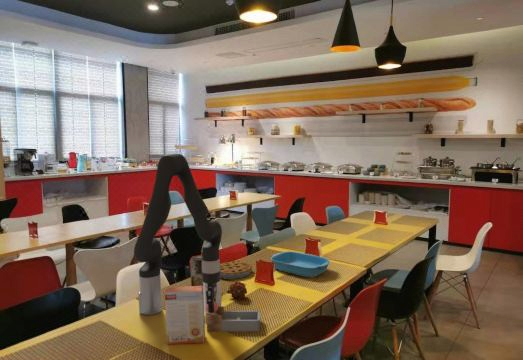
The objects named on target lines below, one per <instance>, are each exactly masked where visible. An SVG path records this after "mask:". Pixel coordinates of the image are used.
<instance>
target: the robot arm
mask: <svg viewBox="0 0 523 360" xmlns="http://www.w3.org/2000/svg"><path fill="white" fill-rule="evenodd" d="M174 177H177V178H178V179H179V181H180V182H181V185H182V188H183V196H184V202H185V205H186V208H187V209H188V211H189V213H190V215H191V216H192V219H193V223H194V227H195V230H196V234H197V235H198V237H199V238H200V239H201V240H203V241H205V244H204V245H203V246H202V248H201V256H202V281H203V282H204V283H207V286H206V298H207V304H208V312H209V313H213V312H214V301H215V302H216V298H215V297H216V294H217V282H219V281H220V280H221V279H222V278H221V277H220V263H221V262H220V246H221V241H222V235H223V229H222V226H221V224H220V222H218V221H217V220H209V221H208V215H209V214H210V211H209V209H208V206H207V205H206V203H205V201H204V200H203V197H202V195H201V193H200V192H199V189H198V187H197V184H196V181H195V179H194V176H193V174H192V171H191V168H190V166H189V162H188V161H187V158H186V157H185V155H184V154H181V153H168V154H164V155H162V156H161V157H160V159H159V160H158V163H157V168H156V174H155V179H154V184H153V188H152V191H151V196H150V199H149V203H148V207H147V209H146V213H145V218H144V221H143V223H142V227H141V229H140V233H139V235H138V237H137V240H136V242H135V245H134V247H133V248H134V249H133V255H134V259H135V260H136V261H137V262H139V263H144V264H143V265H142V266H141V267H140V268H139V270H138V278H139V280H138V281H139V292H138V311H139V314H140V315H146V316H152V315H153V316H154V315H157V314H158V313H161V311H162V310H163V308H162V307H163V306H162V305H163V303H162V284H161V283H162V282H161V280H162V279H161V278H162V277H161V269H162V264H163V262H162V260H163V250H162V249H163V248H162V245H161V242H160V241H159V239H157V238H155V237H156V235H157V233H158V232H159V231H160V229H161V228H162V227H163V226H164V225H165V223H166V222H167V219H168V218H169V216H170V215H169V214H170V210H171V208H172V199H171V195H170V187H171V186H170V185H171V183H172V180H173V178H174ZM209 300H210V301H209Z"/></svg>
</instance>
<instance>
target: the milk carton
mask: <svg viewBox="0 0 523 360" xmlns="http://www.w3.org/2000/svg"><path fill="white" fill-rule="evenodd" d="M221 283H222V282H221V279H220V281H219V282H217V294H216V297H215V298H216V302H217V304H218V306H222V284H221ZM206 286H207V283H204V282H203V296H204V314H205V315H209V314H210V313H209V312H208V311H207V309H206V305H207V298H206ZM209 301H210V300H209Z"/></svg>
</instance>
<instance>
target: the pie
mask: <svg viewBox="0 0 523 360" xmlns="http://www.w3.org/2000/svg"><path fill="white" fill-rule="evenodd" d="M252 270H253V266H252V265H251V264H250V263H249V262H246V261H240V260H237V261H234V260H231V261H229V262H228V261H224V262H223V263H221V262H220V277H221V279H224V278H225V279H224V280H236V279H235V278H239V279H242V277H243V278H245V276H246V277H248V276H249V275H250V273H251V272H252ZM247 275H248V276H247Z"/></svg>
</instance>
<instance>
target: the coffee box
mask: <svg viewBox="0 0 523 360" xmlns="http://www.w3.org/2000/svg"><path fill="white" fill-rule="evenodd" d="M189 264H190V281H191V283H190V284H191V285H190V286H203V281H202V255H201V256H199V255H198V256H197V255H196V256H192V257H191V258H190V260H189Z"/></svg>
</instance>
